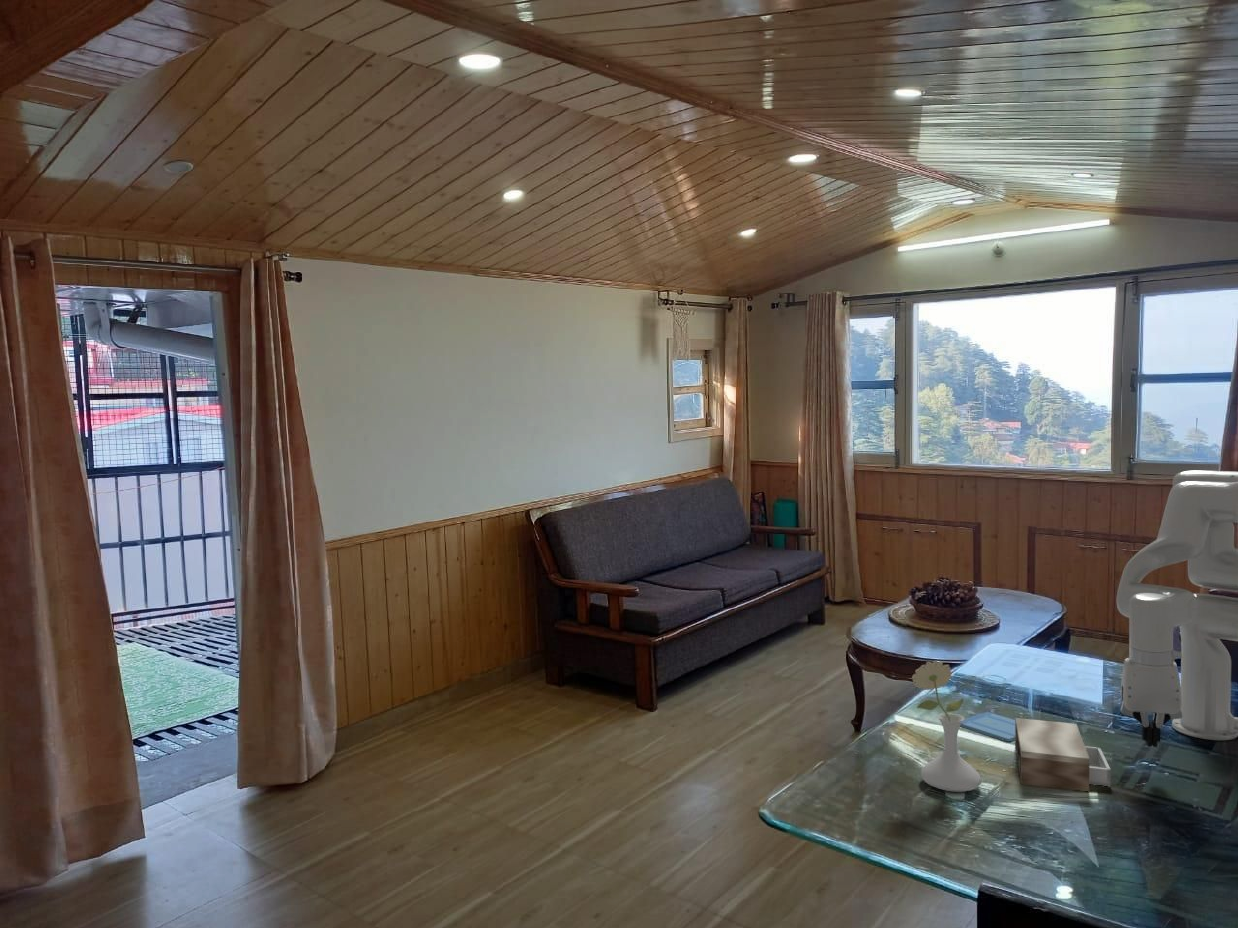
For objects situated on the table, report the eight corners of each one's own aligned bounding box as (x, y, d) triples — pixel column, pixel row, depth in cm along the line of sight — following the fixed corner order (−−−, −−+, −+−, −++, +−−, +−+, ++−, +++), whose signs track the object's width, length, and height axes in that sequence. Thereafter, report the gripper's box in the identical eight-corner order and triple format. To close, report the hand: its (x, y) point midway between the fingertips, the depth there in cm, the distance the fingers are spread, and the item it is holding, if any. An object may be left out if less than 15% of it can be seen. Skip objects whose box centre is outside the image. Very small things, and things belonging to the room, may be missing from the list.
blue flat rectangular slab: (1039, 732, 204) (1039, 727, 204) (1008, 744, 197) (1008, 738, 197) (987, 716, 215) (987, 711, 215) (956, 726, 209) (956, 721, 209)
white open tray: (1099, 763, 185) (1100, 747, 184) (1110, 787, 173) (1110, 769, 173) (1026, 756, 189) (1026, 740, 189) (1032, 778, 178) (1032, 761, 178)
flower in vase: (979, 777, 179) (980, 656, 178) (983, 800, 168) (984, 672, 167) (912, 769, 183) (912, 651, 182) (911, 792, 173) (911, 666, 171)
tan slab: (1076, 754, 190) (1076, 723, 189) (1089, 792, 171) (1089, 758, 171) (1015, 747, 194) (1015, 717, 194) (1021, 783, 175) (1021, 750, 175)
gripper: (1189, 652, 177) (1189, 740, 179) (1105, 648, 182) (1106, 733, 184) (1199, 664, 170) (1199, 755, 172) (1111, 659, 175) (1112, 748, 177)
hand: (1151, 743), depth 178 cm, fingers closed
